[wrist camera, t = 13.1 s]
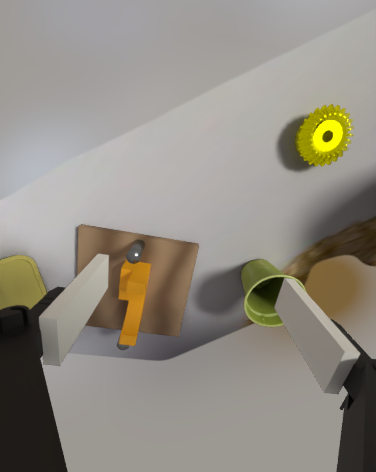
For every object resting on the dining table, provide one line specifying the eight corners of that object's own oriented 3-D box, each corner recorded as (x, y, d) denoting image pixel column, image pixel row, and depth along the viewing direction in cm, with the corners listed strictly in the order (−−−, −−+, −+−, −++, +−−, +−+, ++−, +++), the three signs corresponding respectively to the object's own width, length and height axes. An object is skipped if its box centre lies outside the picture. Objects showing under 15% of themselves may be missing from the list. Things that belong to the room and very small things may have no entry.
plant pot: (261, 302, 43) (280, 336, 35) (221, 281, 41) (232, 312, 33) (291, 265, 40) (320, 292, 32) (251, 241, 38) (270, 264, 30)
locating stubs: (145, 240, 36) (140, 252, 32) (133, 329, 43) (128, 350, 38) (133, 238, 36) (126, 250, 31) (123, 328, 42) (116, 349, 38)
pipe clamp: (126, 259, 37) (115, 279, 31) (151, 263, 38) (145, 284, 32) (118, 315, 41) (108, 342, 35) (141, 318, 42) (134, 346, 36)
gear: (282, 123, 32) (296, 174, 35) (294, 119, 29) (309, 176, 31) (335, 98, 31) (345, 151, 34) (354, 90, 28) (364, 151, 30)
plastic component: (-53, 267, 36) (-24, 270, 31) (0, 250, 42) (30, 250, 38) (-4, 365, 41) (27, 379, 37) (37, 336, 48) (67, 346, 43)
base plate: (198, 243, 38) (198, 246, 37) (178, 332, 45) (178, 336, 44) (81, 224, 36) (78, 226, 35) (78, 319, 43) (76, 324, 42)
